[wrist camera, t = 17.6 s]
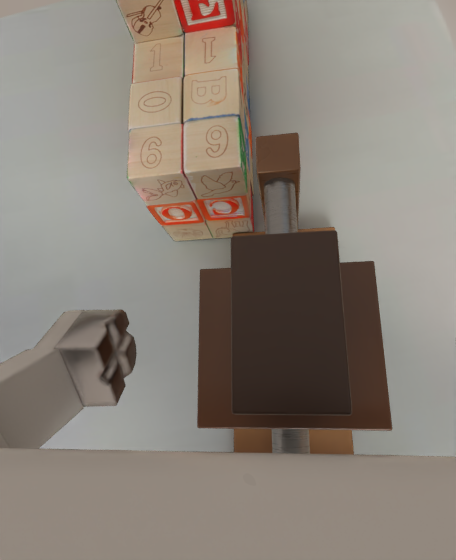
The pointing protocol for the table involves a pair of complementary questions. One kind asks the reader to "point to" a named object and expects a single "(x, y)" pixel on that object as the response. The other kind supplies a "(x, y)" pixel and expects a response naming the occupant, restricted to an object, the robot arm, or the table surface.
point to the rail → (278, 219)
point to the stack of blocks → (191, 115)
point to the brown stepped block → (291, 338)
